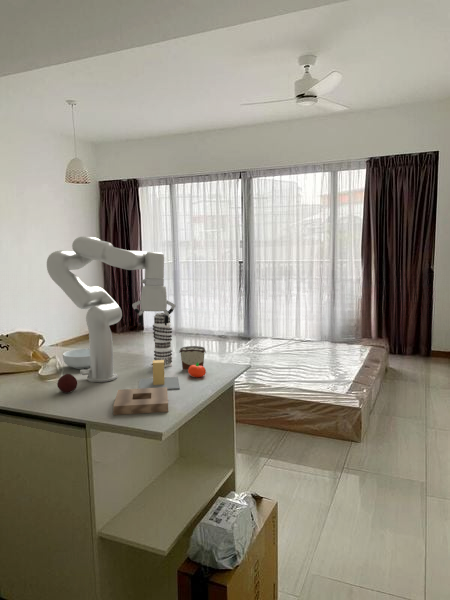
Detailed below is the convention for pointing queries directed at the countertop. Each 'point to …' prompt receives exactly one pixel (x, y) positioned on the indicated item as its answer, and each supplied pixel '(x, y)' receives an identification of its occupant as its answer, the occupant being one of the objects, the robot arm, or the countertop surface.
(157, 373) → the ochre block
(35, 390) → the countertop surface
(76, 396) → the countertop surface
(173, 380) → the grey mat
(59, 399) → the countertop surface
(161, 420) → the countertop surface
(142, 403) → the walnut cradle
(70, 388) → the dark maroon ball
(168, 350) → the decorative candle
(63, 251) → the robot arm
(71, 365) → the cereal bowl
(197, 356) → the food container
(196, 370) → the pumpkin
